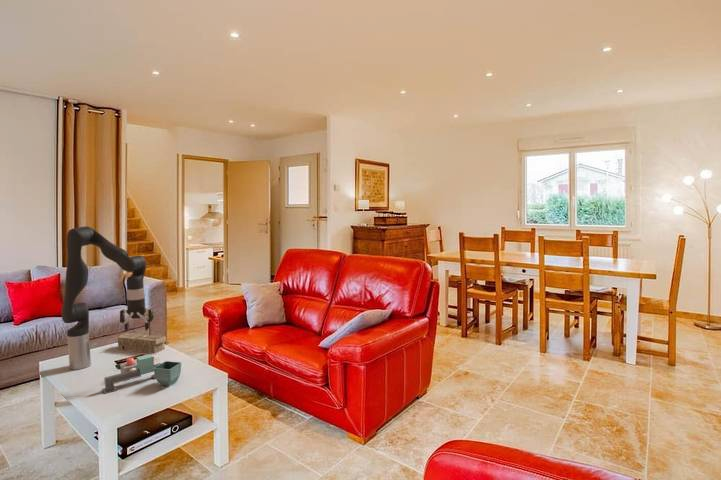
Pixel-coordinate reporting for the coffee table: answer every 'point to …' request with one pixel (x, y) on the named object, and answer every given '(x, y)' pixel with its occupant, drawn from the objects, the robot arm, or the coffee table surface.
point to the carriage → (145, 363)
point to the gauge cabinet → (129, 369)
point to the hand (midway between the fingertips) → (137, 330)
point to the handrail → (111, 379)
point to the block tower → (141, 343)
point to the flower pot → (167, 372)
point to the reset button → (130, 361)
